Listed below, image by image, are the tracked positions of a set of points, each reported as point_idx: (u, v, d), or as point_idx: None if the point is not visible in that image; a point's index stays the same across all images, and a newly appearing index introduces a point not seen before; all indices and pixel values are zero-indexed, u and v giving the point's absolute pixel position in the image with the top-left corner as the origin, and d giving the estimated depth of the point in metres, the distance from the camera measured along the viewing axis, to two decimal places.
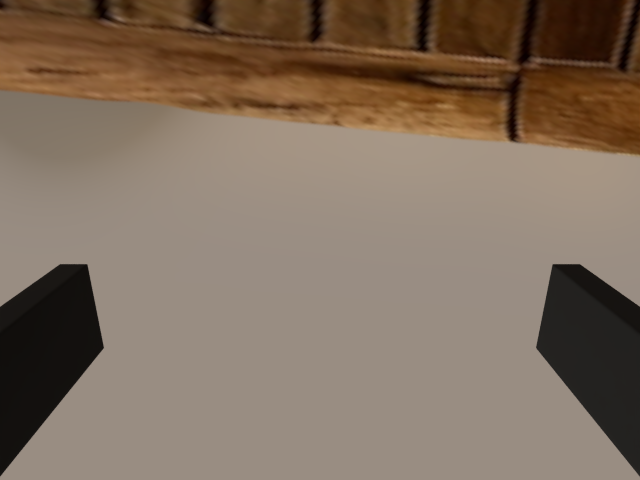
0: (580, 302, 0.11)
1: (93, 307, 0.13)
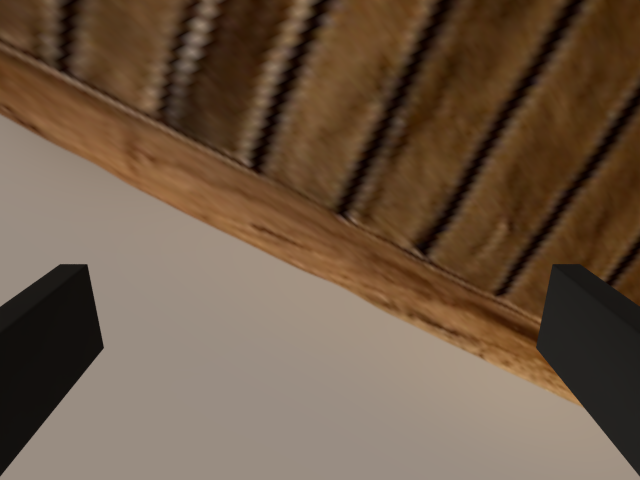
0: (580, 302, 0.11)
1: (93, 307, 0.13)
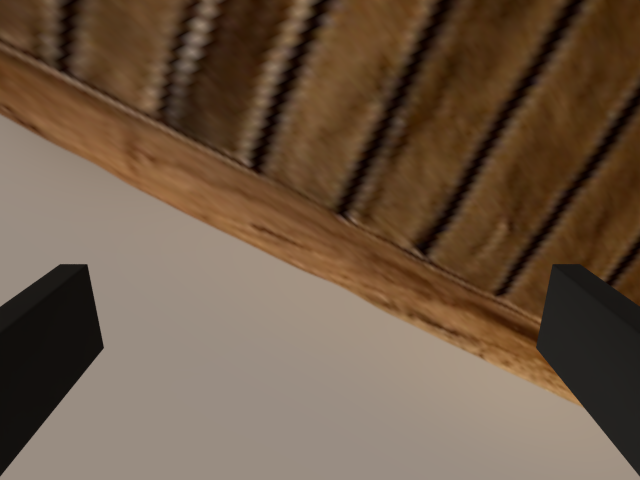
0: (580, 302, 0.11)
1: (93, 307, 0.13)
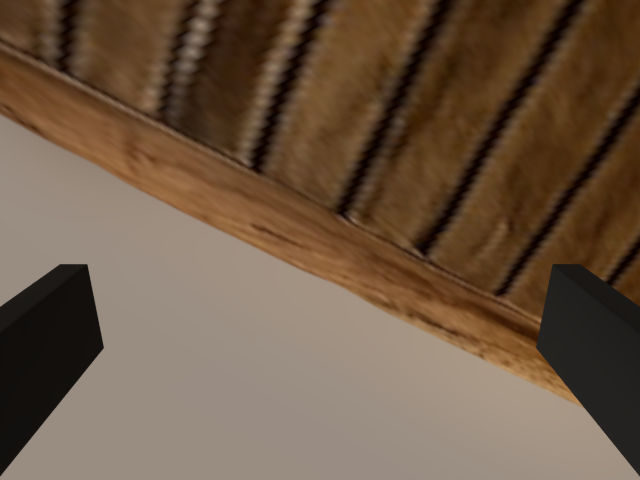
0: (580, 302, 0.11)
1: (93, 307, 0.13)
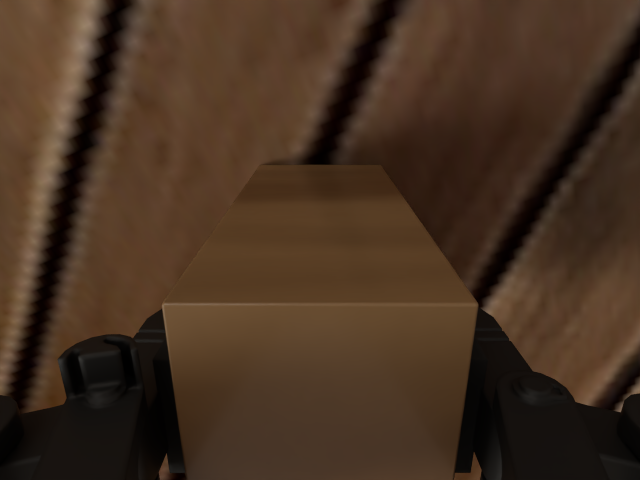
0: None
1: None
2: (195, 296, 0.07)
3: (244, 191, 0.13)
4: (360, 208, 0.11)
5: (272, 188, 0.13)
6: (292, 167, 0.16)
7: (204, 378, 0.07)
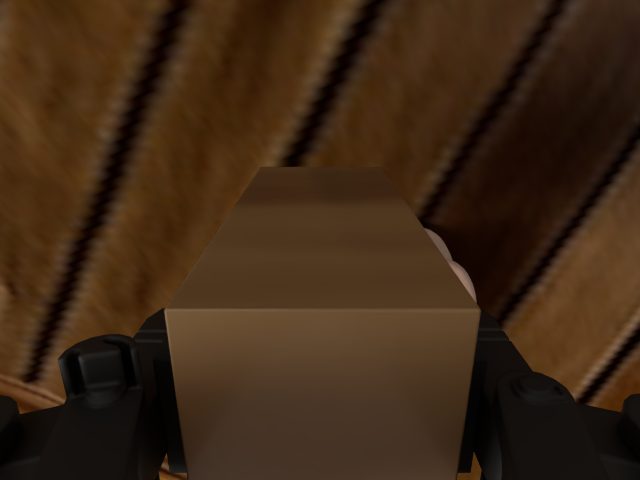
0: None
1: None
2: (198, 302, 0.07)
3: (245, 194, 0.13)
4: (361, 211, 0.11)
5: (273, 191, 0.13)
6: (293, 169, 0.16)
7: (206, 384, 0.07)
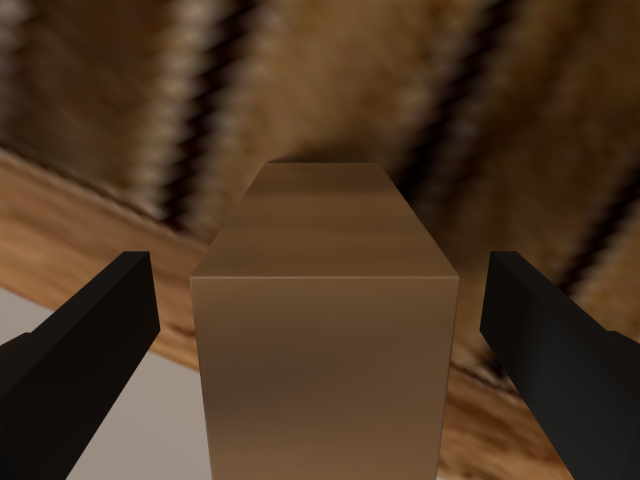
0: (509, 285, 0.12)
1: (153, 291, 0.13)
2: (218, 271, 0.08)
3: (252, 186, 0.14)
4: (359, 200, 0.12)
5: (278, 183, 0.14)
6: (296, 165, 0.17)
7: (224, 343, 0.08)
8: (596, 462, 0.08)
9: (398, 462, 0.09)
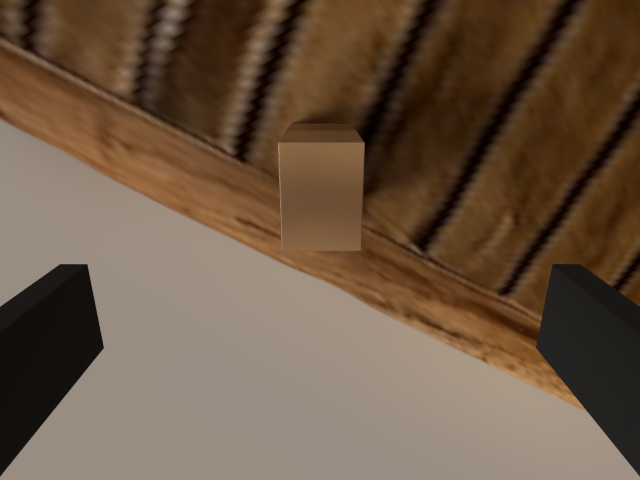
0: (580, 301, 0.11)
1: (94, 306, 0.13)
2: (286, 142, 0.23)
3: (288, 129, 0.30)
4: (337, 132, 0.28)
5: (300, 128, 0.30)
6: (307, 124, 0.33)
7: (288, 167, 0.24)
8: None
9: (348, 216, 0.25)
